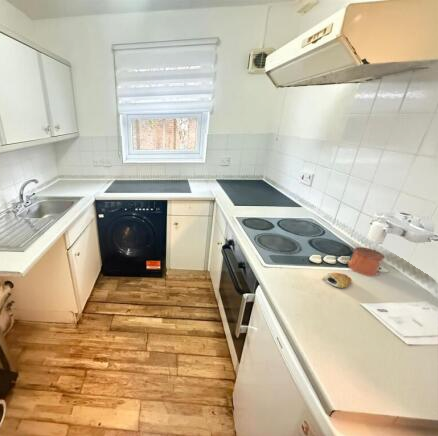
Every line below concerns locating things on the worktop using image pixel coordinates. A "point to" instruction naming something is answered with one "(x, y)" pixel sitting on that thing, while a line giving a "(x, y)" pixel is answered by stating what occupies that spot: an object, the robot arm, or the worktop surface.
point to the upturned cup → (366, 261)
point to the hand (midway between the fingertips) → (377, 226)
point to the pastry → (338, 280)
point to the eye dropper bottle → (378, 230)
